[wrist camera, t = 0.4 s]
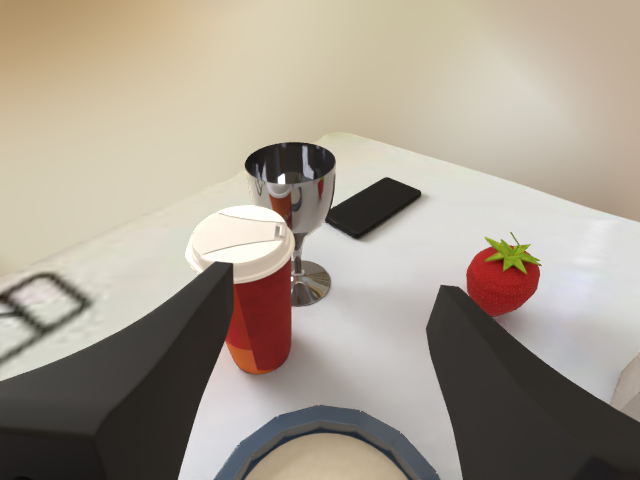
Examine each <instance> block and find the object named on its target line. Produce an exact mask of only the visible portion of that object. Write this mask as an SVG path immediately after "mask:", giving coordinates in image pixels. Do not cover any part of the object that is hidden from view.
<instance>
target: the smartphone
mask: <svg viewBox="0 0 640 480" xmlns="http://www.w3.org/2000/svg"><path fill="white" fill-rule="evenodd" d="M420 196H421V191H420V190H417V189H415V188H413V187H410V186H408V185H405V184H403V183H401V182H398V181H396V180H393V179H391V178H388V177H386V178H383V179H381V180H380V181H378V182H376V183H375V184H373V185H371V186H369V187H368V188H366V189H364V190H363V191H361V192H359V193H357V194H356V195H354V196H352V197H351V198H349V199H347V200H345V201H344V202H342V203H340V204H338V205H337V206H335V207H333V208H332V209H330V211H329V214H328V216H327V218H326V220H325V221H326V222H327V223H329V224H331V225H333V226H334V227H336V228H338V229H340V230H342V231H343V232H345V233H347V234H349V235H350V236H352V237H354V238H360V237H362V236H363V235H365V234H366V233H368V232H369V231H371V230H372V229H374V228H375V227H376V226H378V225H379V224H381V223H382V222H384V221H385V220H387V219H388V218H390V217H391V216H392V215H394V214H395V213H397V212H398V211H400V210H401V209H403V208H404V207H406V206H407V205H408V204H410V203H411V202H413V201H414V200H416V199H417V198H419V197H420Z"/></svg>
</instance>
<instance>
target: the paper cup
mask: <svg viewBox="0 0 640 480" xmlns="http://www.w3.org/2000/svg"><path fill="white" fill-rule="evenodd" d="M294 247H295V239H294V236H293V233H292V232H291V230H290V229H289V228H288V227H287V224H286V222H285V221H284V219H283V218H282V217H281V216H280V215H279V214H278V213H276V212H274V211H272V210H270V209H267V208H264V207H260V206H248V205H246V206H235V207H230V208H226V209H223V210H220V211H217V212H215V213H214V214H212V215H210V216H209V217H207V218H206V219H204V220H203V221H202V222H201V223H199V224H198V226H197V227H196V229H195V231H194V232H193V233H192V235H191V237H190V239H189V243H188V246H187V250H186V259H187V260H188V262H189V264H190V266H191V268H192V269H193V270H194V271H195V272H196V273H197V274H198V275H199V274H201V273H202V272H203V271H204V270H205V269H206V268H208V267H209V266H210V265H211V264H212V263H214V262H215V261H219V262H229V263H233V276H234V311H233V315H232V319H231V323H230V326H229V330H228V334H227V336H226V339H225V341H226V344H227V346H228V348H229V351H230V353H231V355H232V357H233V359H234V361H235V363H236V364H237V365H238V367H239V368H241V369H242V370H244V371H246V372H248V373H252V374H264V373H268V372H271V371H273V370H275V369H277V368H278V367H280V366H281V365H282V364H283V363H284V362H285V360H286V359H287V357H288V355H289V353H290V348H291V256H292V254H293V251H294Z"/></svg>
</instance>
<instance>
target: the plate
mask: <svg viewBox="0 0 640 480" xmlns="http://www.w3.org/2000/svg"><path fill="white" fill-rule="evenodd" d="M435 473H436V471H435V469H434V468H433V467H432V466H431V465H430V464H429V463H428V462H427V461H426V459H425V458H424V457H423V456H422V455H421V454H420V453H419V452H418V451H417V449H416V448H415V447H414V446H413V445H412V444H411V443H410V442H409V441H408V439H407V438H406V437H405V436H404V435H403V434H402V433H401V434H400V431H398V430H396V429H394V428H392V427H390V426H389V425H387V424H385V423H383V422H381V421H379V420H378V419H376V418H374V417H372V416H370V415H369V414H367V413H365V412H363V411H361V412H360V410H355V409H347V408H339V407H332V406H324V405H319V406H318V405H316V406H313V407H309V408H305V409H301V410H297V411H294V412H290V413H286V414H282V415H279V416H278V417H275V418H274V419H272V420H271V421H269V422H268V423H267V424H265V425H264V426H262V427H261V428H260V429H258V430H257V431H255V432H254V433H253V434H251V435H250V436H249V437H247V438H246V439H244V440H243V441H242V442H240V445H237V447H236V448H235V450H234V451H233V453H232V454H231V455H230V457H229V458H228V460H227V461H226V462H225V464H224V465H223V467H222V468H221V469H220V471H219V472H218V474H217V475H216V477H215V478H214V479H213V480H440V478H439V476H438V474H437V473H436V474H435Z"/></svg>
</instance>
